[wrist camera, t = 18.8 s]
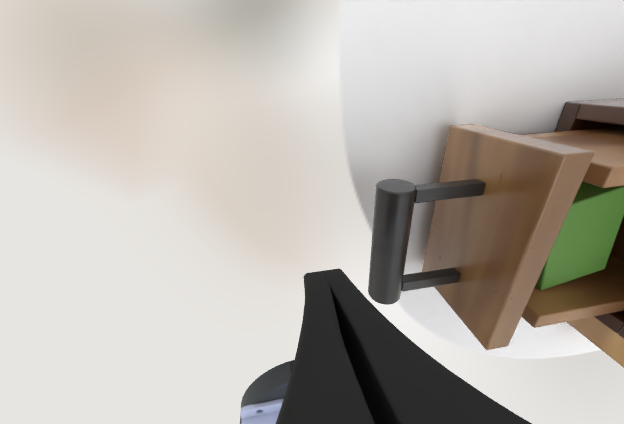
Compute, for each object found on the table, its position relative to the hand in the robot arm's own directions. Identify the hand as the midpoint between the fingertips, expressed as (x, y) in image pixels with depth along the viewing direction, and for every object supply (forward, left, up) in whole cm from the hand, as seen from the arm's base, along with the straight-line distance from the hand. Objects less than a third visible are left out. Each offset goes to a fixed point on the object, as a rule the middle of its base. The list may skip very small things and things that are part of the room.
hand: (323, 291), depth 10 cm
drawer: (+11, 0, -5) cm, 12 cm away
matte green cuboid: (+13, 0, -4) cm, 13 cm away
